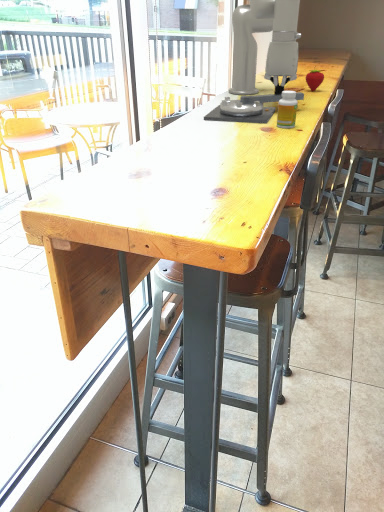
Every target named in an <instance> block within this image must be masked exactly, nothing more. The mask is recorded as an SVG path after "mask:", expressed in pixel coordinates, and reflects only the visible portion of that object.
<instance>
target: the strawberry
mask: <svg viewBox="0 0 384 512" xmlns="http://www.w3.org/2000/svg"><path fill="white" fill-rule="evenodd" d="M308 71H309V72H308V73H307V74H306V75H305V83H306V84H307V86H308V88H309V89H310V91H311V92H315V91H316V90H317V89H318V88H319V87H320V86H321V85H322V83H324V80H325V74H324V73H323V72H322V70H321V69H320V70H318V69H316V65H315V67H314V69H313V70H312V69H311V70H308Z"/></svg>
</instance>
